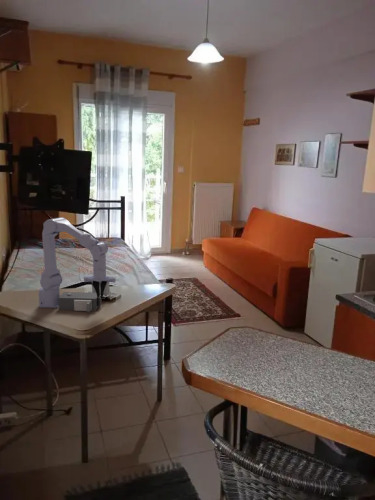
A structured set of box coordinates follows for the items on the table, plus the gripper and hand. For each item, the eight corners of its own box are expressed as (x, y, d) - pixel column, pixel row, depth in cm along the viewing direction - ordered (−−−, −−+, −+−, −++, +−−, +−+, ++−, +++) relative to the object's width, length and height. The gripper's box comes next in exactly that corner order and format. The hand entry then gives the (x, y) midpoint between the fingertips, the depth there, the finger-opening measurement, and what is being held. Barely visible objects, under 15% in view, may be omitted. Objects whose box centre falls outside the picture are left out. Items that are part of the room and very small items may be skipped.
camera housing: (58, 309, 195) (58, 296, 194) (64, 303, 204) (63, 290, 203) (98, 310, 195) (98, 297, 194) (102, 304, 204) (102, 291, 203)
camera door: (72, 312, 191) (72, 302, 189) (75, 309, 195) (74, 299, 194) (89, 313, 191) (89, 303, 189) (91, 309, 195) (91, 300, 194)
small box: (109, 295, 218) (109, 276, 216) (106, 298, 213) (106, 279, 211) (95, 294, 219) (95, 275, 217) (92, 297, 213) (91, 278, 211)
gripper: (81, 270, 183) (82, 298, 186) (113, 271, 183) (114, 299, 186) (85, 266, 190) (86, 294, 193) (116, 267, 190) (116, 294, 193)
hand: (100, 296), depth 190 cm, fingers closed
